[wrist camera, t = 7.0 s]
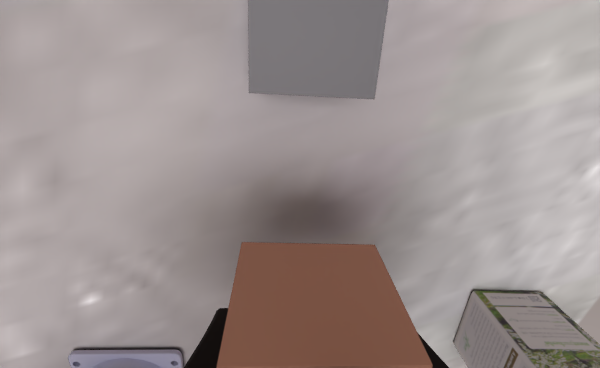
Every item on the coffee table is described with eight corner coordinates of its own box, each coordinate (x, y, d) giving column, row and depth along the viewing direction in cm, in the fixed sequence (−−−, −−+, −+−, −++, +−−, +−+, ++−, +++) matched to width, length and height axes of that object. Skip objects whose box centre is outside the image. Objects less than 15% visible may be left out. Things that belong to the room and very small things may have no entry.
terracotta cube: (357, 340, 14) (395, 483, 9) (243, 341, 14) (223, 490, 9) (374, 244, 12) (432, 365, 7) (241, 242, 12) (216, 367, 7)
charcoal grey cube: (349, 86, 17) (374, 99, 13) (257, 81, 17) (248, 93, 12) (361, -21, 15) (396, -51, 11) (258, -30, 15) (247, -64, 10)
